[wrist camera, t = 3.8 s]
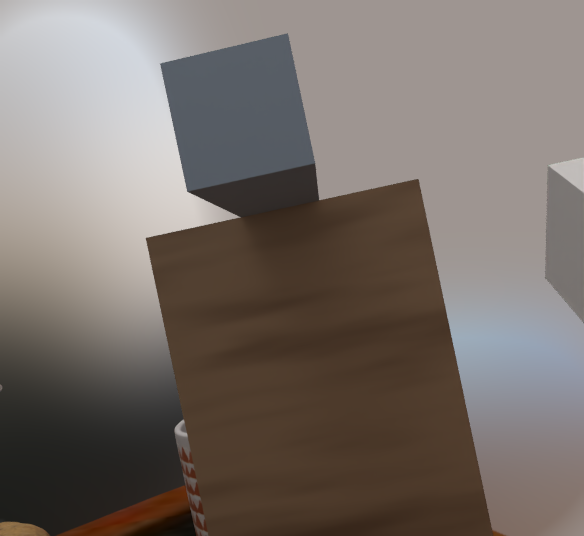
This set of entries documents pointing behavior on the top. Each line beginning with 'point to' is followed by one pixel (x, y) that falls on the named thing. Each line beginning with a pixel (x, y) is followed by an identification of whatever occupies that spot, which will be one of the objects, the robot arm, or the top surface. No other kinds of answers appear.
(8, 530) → the potato
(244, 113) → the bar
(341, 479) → the stand
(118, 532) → the top surface
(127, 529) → the top surface
